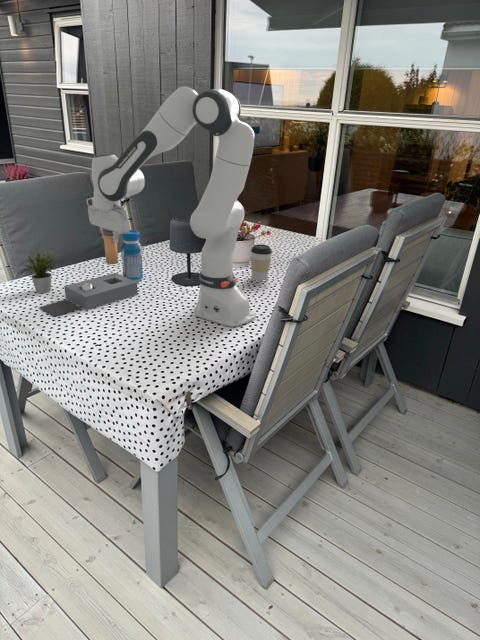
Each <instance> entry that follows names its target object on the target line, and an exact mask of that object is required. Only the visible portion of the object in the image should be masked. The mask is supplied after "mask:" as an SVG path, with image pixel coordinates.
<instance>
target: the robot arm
mask: <svg viewBox="0 0 480 640" xmlns="http://www.w3.org/2000/svg"><path fill="white" fill-rule="evenodd" d="M241 107H242V106H241V103H240V100H239V99H238V97H237V95H236V94H234V93H233V92H231V91H229V90H224V89H222V88H213V89H205V90H203V91H202V92H200V93H198V92H197V91H196V90H195V89H193V88H191V87H190V86H185V85H184V86H180V87H178V88H177V89H175V90H174V91H173V92H172V93H171V94H170V95H169V96H168V97H167V98H166V99H165V101H164V102H163V103H162V104H161V106H160V107H159V108H158V110H157V111H156V112H155V114H154V115H153V116H152V118H151V119H150V121H149V122H148V123H147V124H146V126H145V127H144V128H143V129H142V131H141V132H140V133H139V135H138V136H137V137H136V138H135V139H134V140H133V141H132V143H130V144H129V146H128V147H127V149H126V150H125V151H124V152H123V153H122V154H121V155H120V156H119V158H118V157H117V155H115V154H114V153H106V154H98V155H95V156H93V158H92V161H91V179H92V180H91V181H92V184H93V187H94V188H93V196H92V197H90V198H87V199H86V205H87V206H88V207H87V211H88V212H87V213H88V219H89V222H90V225H92V226H95V227H98V228H99V230H100V231H99V232H100V233H101V236H102V240H104V235H103V230H105V229H108V230H111V231H113V234H114V235H113V238H112V242H113V243H117V244H118V243H119V237H120V234H121V235H122V234H125V233H129V231H130V230H131V228H130V220H129V214H128V213H127V210H125V208H124V207H123V206H121V205H122V204H121V200H122V199H125V198H128V197H132V196H134V195H138V194H139V193H141V192H142V191H143V190H144V188H145V185H146V178H145V175H144V173H143V171H142V170H141V169H140V168H141V167H142V166H143V165H144V164H145V163H146V162H147V161H148V160H150V159H151V158H152V157H154V156H156V155H159V154H162V153H164V152H167V151H170V150H172V149H175V147H177V146H178V145H179V144H180V143H181V142H182V141H183V140H184V139H185V138H186V136H188V134H189V133H190V132H191V131H192V129H193V128H194V126H195V125H196V124H198V125H199V126H200V127H201V128H203V129H204V130H206V131H207V132H208V133H210V134H211V135H213V136H215V137H217V138H218V143H217V144H218V145H217V147H216V148H217V150H216V152H215V157H214V162H213V165H212V171H211V174H210V178H209V181H208V183H207V186H206V188H205V189H204V192H203V195H202V196H201V200H200V201H199V204H198V205H197V207H196V209H194V211H193V212H192V214H191V216H190V219H189V224H190V225H189V226H190V228H191V230H192V232H193V233H194V235H196V236H197V237H198V238H201V239H206V240H205V243H204V245H203V247H202V249H201V253H200V254H201V255H200V256H201V258H200V259H201V260H200V261H201V262H200V272H199V283H200V285H199V287H200V288H199V292H198V299H197V304H196V306H195V311H196V312H195V317H198V318H200V319H203V320H207V321H210V322H214V323H217V324H221V325H223V326H226V327H229V328H230V327H239V325H240V326H242V324H243V325H246V324H247V323H251V322H252V321H253V320H254V319H256V315H257V314H256V312H254V311H253V310H250V301H249V299H248V297H247V296H246V294H244V293H243V292H242V291H241V290H240V288H239V287H238V286H237V283H236V282H238V281H239V277H237V278H235V274H234V272H233V269H234V268H233V267H234V266H233V265H234V254H235V247H236V243H237V241H238V236H239V232H240V228H241V224H243V221H244V218H245V213H246V212H245V208H244V206H243V205H242V204H241V202H239V200H238V198H239V196H240V195H241V193H242V192H243V190H244V188H245V184H246V181H247V178H248V174H249V170H250V166H251V163H252V157H253V154H254V147H255V145H254V144H255V132H254V130H253V128H252V127H251V126H250V125H249V124H248V123H246V122H243V121H241V120H239V118H240V116H241V111H242V108H241ZM245 323H246V324H245Z"/></svg>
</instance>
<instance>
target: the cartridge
mask: <svg viewBox="0 0 480 640" xmlns="http://www.w3.org/2000/svg"><path fill="white" fill-rule="evenodd" d="M103 235H104V239H103V242H104V243H103V245H104V253H105V255H104V256H105V264H107V265H116V264H119V253H118V243H113V242H112V238H113V235H114V234H113V231H111V230H108V229H105V230H103Z"/></svg>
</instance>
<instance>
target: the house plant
mask: <svg viewBox="0 0 480 640" xmlns="http://www.w3.org/2000/svg"><path fill="white" fill-rule="evenodd" d="M54 252H55V251H51V252H49V253H48V249H46V250H45V252H44V253H43V254H42V256H41V255H40V253H39V250H38V249H37V248H35V257H34V256H33V255H30V254H29V255H28V254H25V255H26V256H25V258H22V261H26V262H28V264H23V267H27V268H30V269H28V272H27V273H28V275H30V274H31V276H30V277H31V280H32V283H33V285H34V289H35V291H36V293H38V294H47V293H50V292H52V276H53V275H52V270H51V269H53V268H54V269H55V268H58V266H59V264H58V263H52V262H55V261H59V260H61V258H56V257H58V256H60V255H59V254H58V255H53V256H51V255H52V254H53V253H54ZM47 253H48V254H47ZM45 256H46V257H45ZM50 263H52V264H50Z"/></svg>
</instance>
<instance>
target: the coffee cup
mask: <svg viewBox="0 0 480 640" xmlns="http://www.w3.org/2000/svg"><path fill="white" fill-rule="evenodd" d="M250 252H251V255H250V259H251V260H250V264H251V265H250V268H251V280H252V279H254V280H257V281H263V280H266V279H267V280H268V275H269V271H270V266H271V259H272V253H273V251H272V249H271V247H270V246H269V245H267V244H254V245H253V246H252V247H251V249H250ZM254 280H253V281H254ZM267 280H266V281H267ZM257 281H256V282H257Z"/></svg>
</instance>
